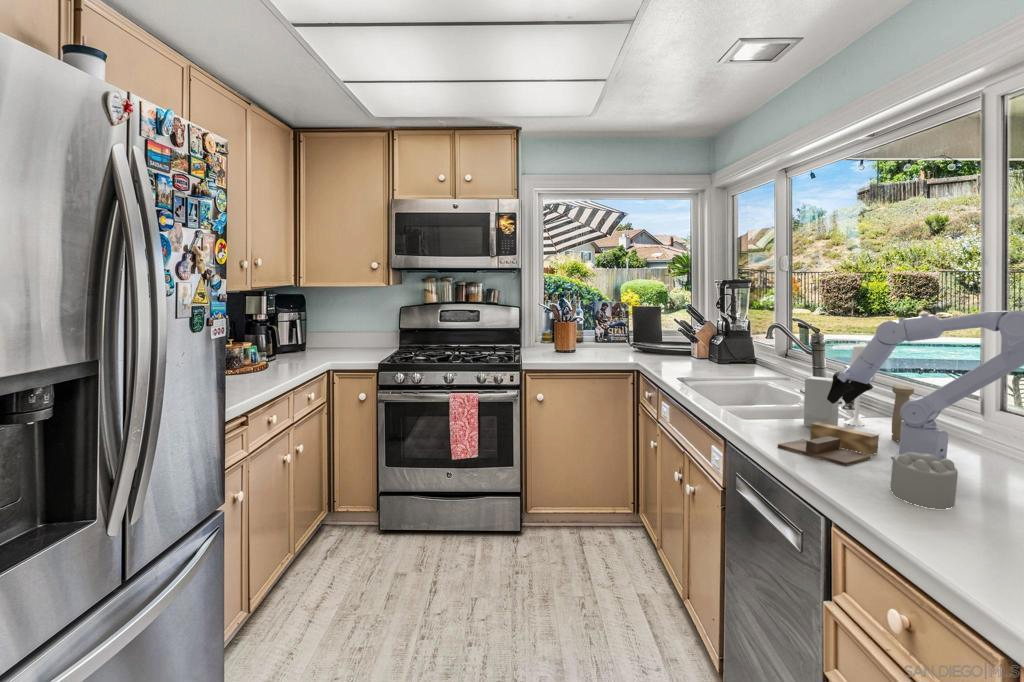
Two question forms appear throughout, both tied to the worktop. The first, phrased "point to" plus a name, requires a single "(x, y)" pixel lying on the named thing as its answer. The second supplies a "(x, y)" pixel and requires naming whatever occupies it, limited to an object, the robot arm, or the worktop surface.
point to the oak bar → (847, 437)
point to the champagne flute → (856, 420)
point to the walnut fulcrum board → (825, 450)
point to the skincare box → (819, 402)
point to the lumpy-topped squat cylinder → (924, 480)
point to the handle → (900, 399)
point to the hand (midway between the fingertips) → (837, 401)
